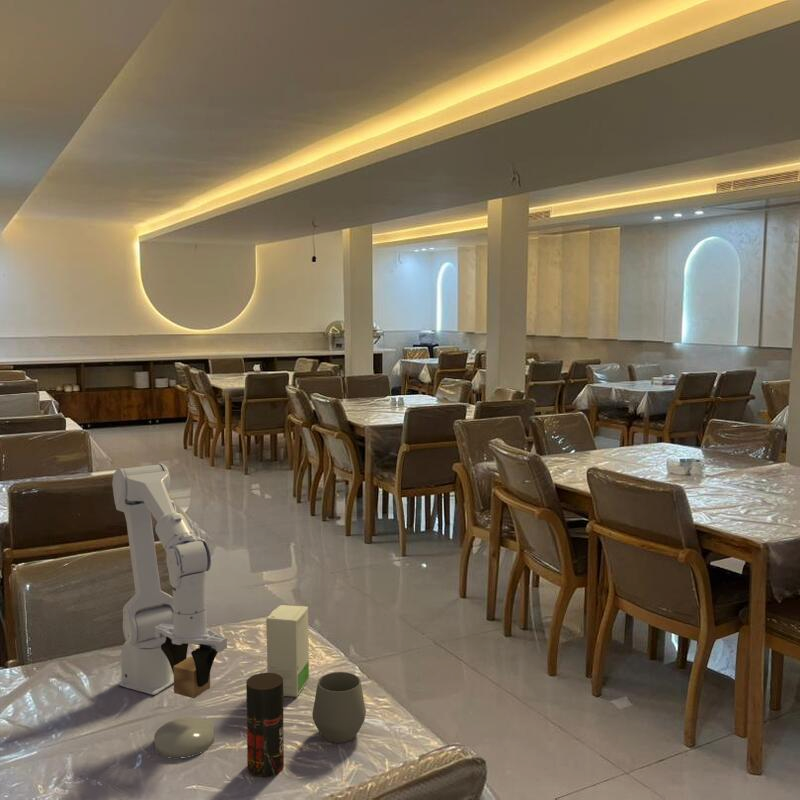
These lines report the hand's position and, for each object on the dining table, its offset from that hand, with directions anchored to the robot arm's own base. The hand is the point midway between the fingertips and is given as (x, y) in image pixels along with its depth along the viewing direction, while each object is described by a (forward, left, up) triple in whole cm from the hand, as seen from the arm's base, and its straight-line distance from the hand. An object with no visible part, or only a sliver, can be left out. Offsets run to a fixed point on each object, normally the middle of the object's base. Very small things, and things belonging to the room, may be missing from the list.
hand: (191, 681), depth 141 cm
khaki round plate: (+2, -5, -9) cm, 10 cm away
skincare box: (+7, +20, -9) cm, 23 cm away
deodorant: (+19, -5, -9) cm, 22 cm away
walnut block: (0, 0, -2) cm, 2 cm away
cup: (+25, +9, -9) cm, 28 cm away
